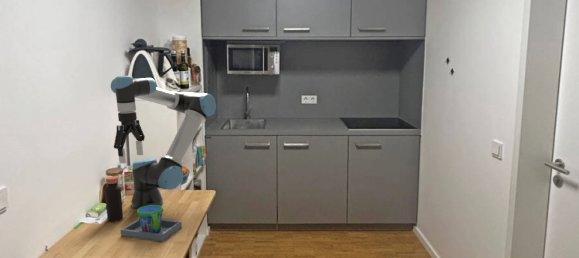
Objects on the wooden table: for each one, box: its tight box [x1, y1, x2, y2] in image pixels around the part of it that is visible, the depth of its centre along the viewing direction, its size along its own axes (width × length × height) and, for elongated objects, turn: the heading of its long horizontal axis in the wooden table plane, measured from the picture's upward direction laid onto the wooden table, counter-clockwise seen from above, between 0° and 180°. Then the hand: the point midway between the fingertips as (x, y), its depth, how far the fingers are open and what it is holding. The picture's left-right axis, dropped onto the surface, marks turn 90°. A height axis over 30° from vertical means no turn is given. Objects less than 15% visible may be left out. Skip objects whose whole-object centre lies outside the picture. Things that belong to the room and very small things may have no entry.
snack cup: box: [136, 205, 164, 233], centre depth 192 cm, size 16×10×10 cm
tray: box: [120, 218, 183, 243], centre depth 193 cm, size 15×20×3 cm
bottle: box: [104, 175, 124, 223], centre depth 207 cm, size 7×7×20 cm
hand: (131, 159), depth 201 cm, fingers open, 13 cm apart
